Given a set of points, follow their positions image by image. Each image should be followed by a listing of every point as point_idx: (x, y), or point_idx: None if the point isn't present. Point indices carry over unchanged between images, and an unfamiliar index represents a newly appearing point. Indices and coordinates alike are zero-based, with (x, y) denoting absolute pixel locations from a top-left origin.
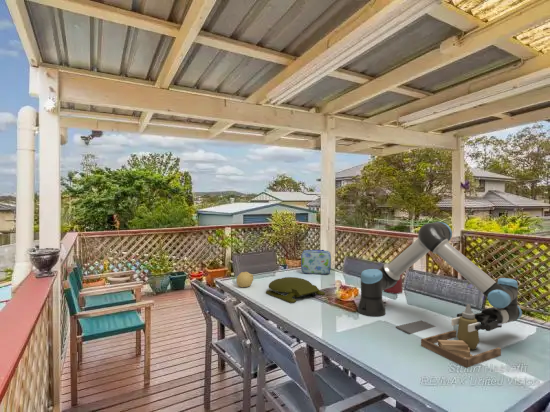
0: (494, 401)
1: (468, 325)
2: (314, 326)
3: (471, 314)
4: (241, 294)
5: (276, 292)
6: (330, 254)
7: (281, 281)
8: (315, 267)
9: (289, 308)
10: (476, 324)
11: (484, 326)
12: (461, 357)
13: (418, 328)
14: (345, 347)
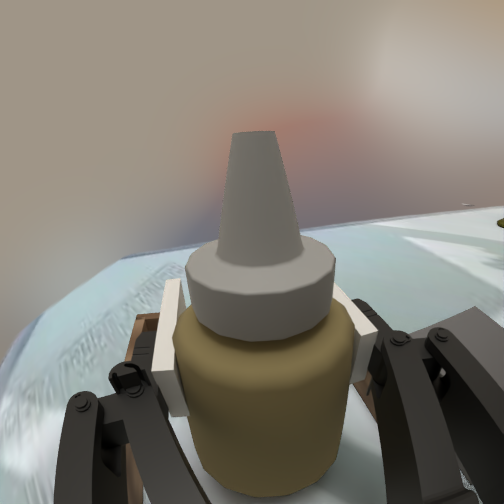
0: (63, 308)
1: (176, 281)
2: (416, 225)
3: (203, 251)
4: (491, 207)
5: None
6: None
7: None
8: None
9: (475, 221)
10: (158, 337)
11: (115, 401)
12: (155, 314)
13: (487, 356)
14: (332, 233)
